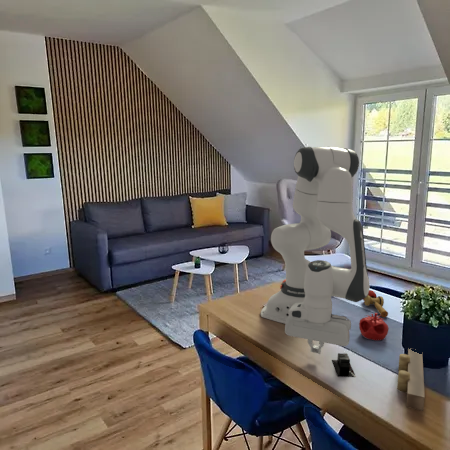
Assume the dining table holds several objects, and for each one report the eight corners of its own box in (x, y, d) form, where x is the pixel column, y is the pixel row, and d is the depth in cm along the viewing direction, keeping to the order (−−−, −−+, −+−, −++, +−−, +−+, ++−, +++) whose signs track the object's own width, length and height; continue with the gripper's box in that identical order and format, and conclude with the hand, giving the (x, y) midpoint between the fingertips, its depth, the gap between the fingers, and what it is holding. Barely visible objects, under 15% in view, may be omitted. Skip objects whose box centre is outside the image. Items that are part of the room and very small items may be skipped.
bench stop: (396, 404, 104) (397, 387, 103) (398, 357, 127) (400, 343, 126) (423, 411, 102) (425, 393, 101) (420, 362, 125) (422, 347, 124)
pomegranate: (362, 328, 149) (364, 305, 147) (390, 335, 143) (392, 311, 141) (355, 338, 141) (356, 314, 139) (384, 345, 135) (386, 320, 133)
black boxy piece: (327, 359, 128) (328, 346, 127) (350, 360, 128) (351, 346, 127) (335, 380, 116) (336, 366, 115) (360, 381, 115) (361, 367, 115)
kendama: (394, 319, 159) (375, 297, 176) (394, 306, 156) (375, 285, 173) (376, 323, 159) (359, 300, 176) (375, 310, 156) (358, 288, 173)
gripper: (352, 313, 122) (350, 354, 124) (289, 303, 130) (288, 341, 133) (350, 321, 116) (347, 363, 119) (283, 310, 124) (282, 350, 127)
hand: (315, 352), depth 126 cm, fingers closed
